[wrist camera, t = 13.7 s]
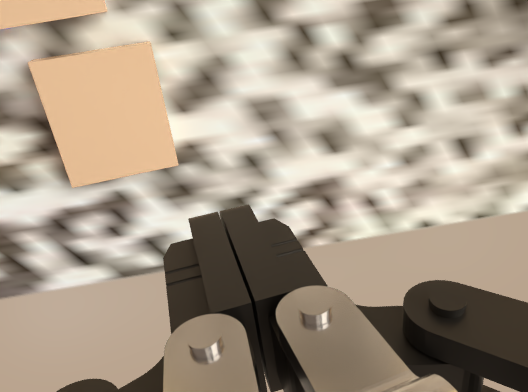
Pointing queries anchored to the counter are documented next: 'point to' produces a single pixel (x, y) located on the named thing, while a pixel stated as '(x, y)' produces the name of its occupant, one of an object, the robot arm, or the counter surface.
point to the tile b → (106, 112)
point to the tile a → (45, 10)
